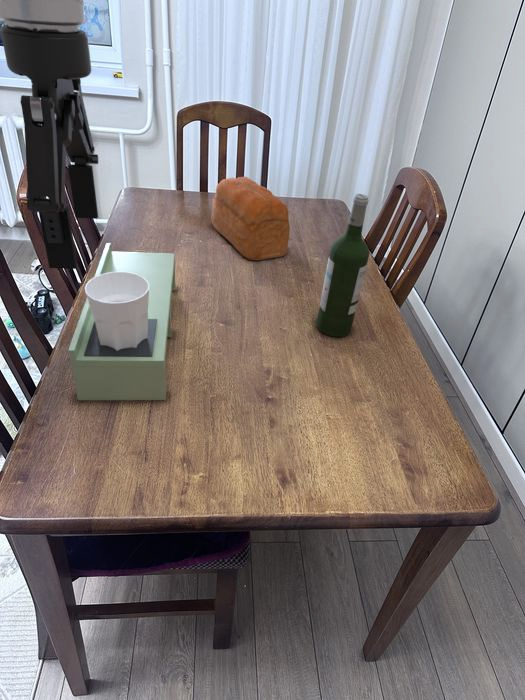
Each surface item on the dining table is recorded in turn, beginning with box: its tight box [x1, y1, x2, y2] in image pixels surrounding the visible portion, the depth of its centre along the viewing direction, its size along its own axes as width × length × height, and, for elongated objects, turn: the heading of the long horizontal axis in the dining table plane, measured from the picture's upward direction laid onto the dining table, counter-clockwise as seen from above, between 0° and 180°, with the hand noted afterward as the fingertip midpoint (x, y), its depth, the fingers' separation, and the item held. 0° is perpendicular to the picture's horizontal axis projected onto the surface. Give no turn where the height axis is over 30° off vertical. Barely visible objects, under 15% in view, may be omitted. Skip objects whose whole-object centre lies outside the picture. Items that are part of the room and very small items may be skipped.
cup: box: [84, 272, 149, 351], centre depth 82 cm, size 10×10×10 cm
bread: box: [210, 176, 291, 261], centre depth 137 cm, size 14×27×15 cm, turn 29°
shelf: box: [67, 242, 177, 401], centre depth 97 cm, size 39×15×11 cm, turn 5°
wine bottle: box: [316, 193, 370, 338], centre depth 100 cm, size 8×8×30 cm
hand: (76, 240), depth 58 cm, fingers open, 13 cm apart
